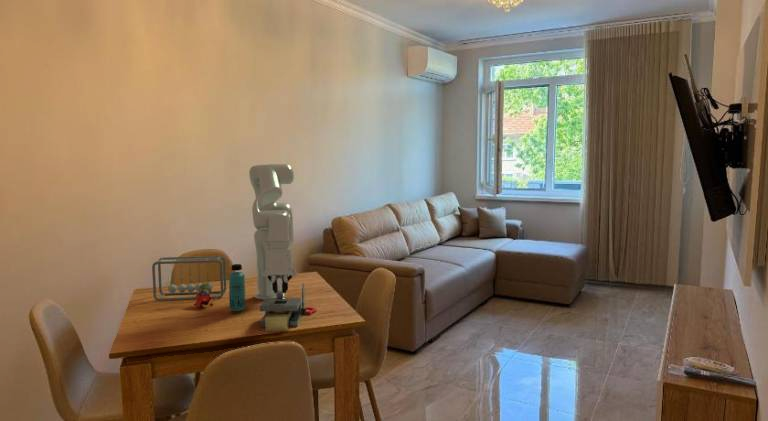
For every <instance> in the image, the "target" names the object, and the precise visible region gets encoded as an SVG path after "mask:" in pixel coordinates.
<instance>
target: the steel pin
mask: <svg viewBox="0 0 768 421" xmlns="http://www.w3.org/2000/svg"><path fill="white" fill-rule="evenodd" d="M283 283H284V275H276V298H277V300H283V299H284V298H285V293H283Z"/></svg>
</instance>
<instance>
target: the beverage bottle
mask: <svg viewBox="0 0 768 421" xmlns="http://www.w3.org/2000/svg"><path fill="white" fill-rule="evenodd" d="M242 270H243V267H242V264H241V263H236V264H235V263H234V264H231V271H233V272H231V273H230V274H229V275H228V284H229V285H228V286H229V288H228V290H229V291H228V297H229V298H228V300H229V310H230V311H235V312H237V311H243V310H245V309H246V282H245V281H246V280H245V279H246V278H245V276H246V275H245V273H244V272H242Z"/></svg>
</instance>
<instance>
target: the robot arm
mask: <svg viewBox="0 0 768 421" xmlns="http://www.w3.org/2000/svg"><path fill="white" fill-rule="evenodd" d="M294 176H295V175H294V170H293V167H292V166H291V165H290V164H288V163H282V164H280V163H278V164H275V163H274V164H273V163H270V164H256V165H253V166H251V167H250V168H249V180H250V183H251V186H252V188H253V191H254V194H255V196H254V197H255V200H254V201H253V203H252V206H251V211H252V212H251V213H252V214H251V215H252V220H253V221H252V222H253V226H254V228H256V230H255V232H254V235H253V241H254V244H255V246H254V247H255V251H256V252H255V254H256V276H257V278H256V281H257V292H255V293H254V294H253V295H254V296H253V297H254V298H255V299H257V300H260V301H261V300H263V301H264V299H265V298H276V275H284V283H283V293H284V294H286V293H287V292H288V291H289V282H290V281H291V279H292V278H295V277H296V276H298V272H297V271H296V269H295V267H294V258H293V252H292V246H293V244H294V239H295V238H294V218H293V217H294V216H293V210H292V207H291V205H290V204H289V203H285V202H282V203H281V202H278V203H276V202H277V201H278V200H280V198H281V197H282V195H283V188H282V185H290V184H291V185H292V183H293V181H294V179H295V177H294Z"/></svg>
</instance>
